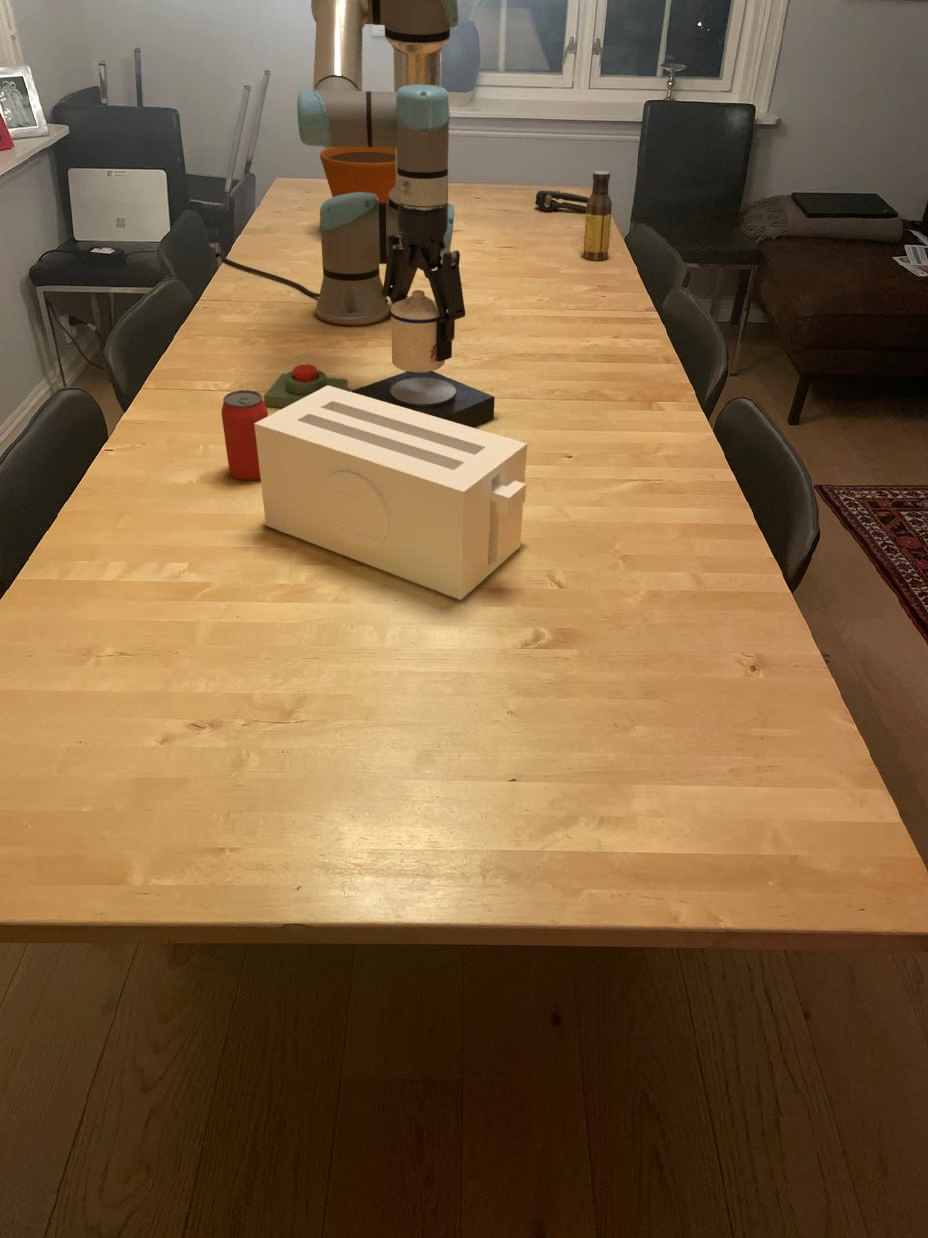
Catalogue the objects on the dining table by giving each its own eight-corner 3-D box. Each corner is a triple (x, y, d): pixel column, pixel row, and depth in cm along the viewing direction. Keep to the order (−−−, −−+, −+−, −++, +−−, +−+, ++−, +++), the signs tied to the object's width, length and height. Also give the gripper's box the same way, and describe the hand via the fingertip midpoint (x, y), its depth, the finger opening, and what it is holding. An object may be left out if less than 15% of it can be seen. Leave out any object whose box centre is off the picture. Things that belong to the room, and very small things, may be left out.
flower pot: (413, 250, 242) (412, 164, 230) (319, 247, 242) (313, 161, 230) (418, 225, 261) (417, 144, 249) (331, 222, 261) (326, 142, 249)
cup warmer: (351, 411, 164) (349, 386, 161) (419, 386, 173) (419, 361, 170) (425, 447, 154) (425, 421, 151) (493, 418, 163) (495, 393, 160)
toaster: (262, 528, 132) (250, 425, 123) (334, 482, 143) (328, 385, 134) (478, 611, 118) (482, 502, 109) (539, 553, 129) (548, 449, 120)
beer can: (236, 485, 142) (226, 410, 135) (224, 466, 147) (213, 392, 140) (279, 476, 145) (272, 402, 137) (265, 458, 149) (257, 385, 142)
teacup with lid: (442, 375, 153) (443, 302, 146) (385, 371, 154) (384, 298, 147) (451, 348, 162) (453, 278, 155) (399, 344, 163) (398, 275, 156)
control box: (264, 406, 165) (262, 384, 162) (283, 383, 173) (281, 362, 170) (332, 413, 163) (331, 390, 161) (348, 389, 171) (346, 368, 169)
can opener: (533, 212, 276) (534, 191, 272) (535, 206, 281) (537, 185, 278) (594, 216, 273) (597, 195, 270) (596, 210, 279) (598, 189, 276)
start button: (290, 381, 164) (290, 372, 163) (298, 373, 168) (297, 363, 167) (313, 383, 164) (312, 374, 163) (320, 375, 167) (319, 365, 166)
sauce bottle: (602, 253, 244) (611, 168, 232) (610, 260, 239) (620, 174, 227) (578, 254, 242) (586, 169, 231) (586, 261, 238) (594, 174, 226)
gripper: (356, 194, 147) (362, 338, 160) (456, 223, 135) (453, 375, 148) (392, 187, 151) (395, 327, 165) (493, 214, 139) (487, 363, 152)
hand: (423, 350), depth 156 cm, fingers closed on teacup with lid, 9 cm apart
